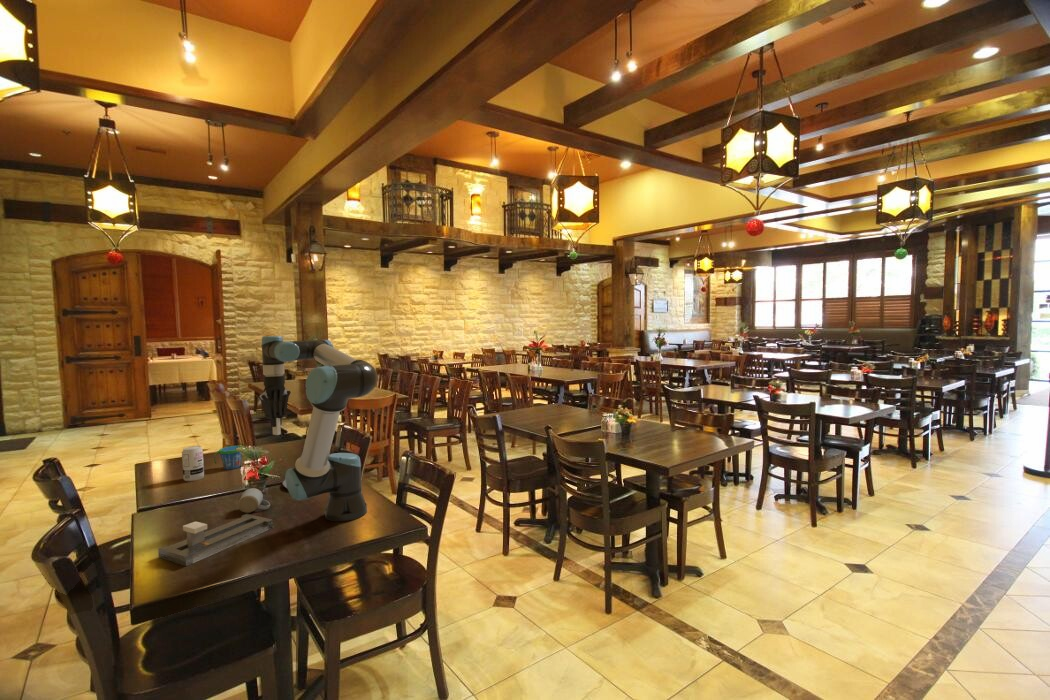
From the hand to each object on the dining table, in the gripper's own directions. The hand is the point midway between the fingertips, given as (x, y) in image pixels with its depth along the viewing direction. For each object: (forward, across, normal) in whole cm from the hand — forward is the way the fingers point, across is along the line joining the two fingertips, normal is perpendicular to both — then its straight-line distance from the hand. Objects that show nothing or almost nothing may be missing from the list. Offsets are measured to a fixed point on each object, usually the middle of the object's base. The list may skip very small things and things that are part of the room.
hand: (276, 434), depth 195 cm
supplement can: (+30, -9, -70) cm, 77 cm away
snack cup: (+30, -28, -70) cm, 81 cm away
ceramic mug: (+30, +6, -8) cm, 31 cm away
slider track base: (+29, +30, +8) cm, 43 cm away
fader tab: (+28, +38, +8) cm, 47 cm away
